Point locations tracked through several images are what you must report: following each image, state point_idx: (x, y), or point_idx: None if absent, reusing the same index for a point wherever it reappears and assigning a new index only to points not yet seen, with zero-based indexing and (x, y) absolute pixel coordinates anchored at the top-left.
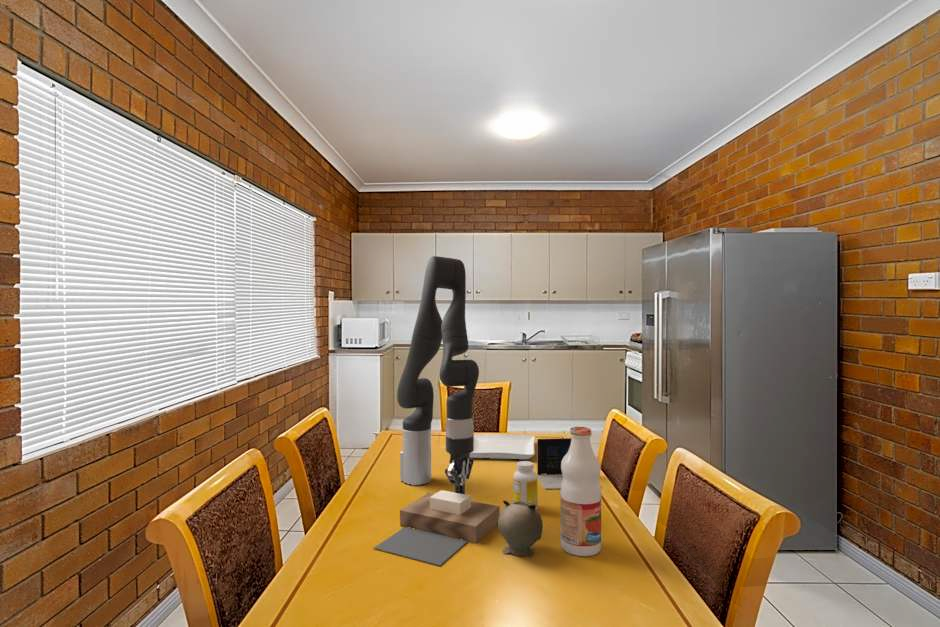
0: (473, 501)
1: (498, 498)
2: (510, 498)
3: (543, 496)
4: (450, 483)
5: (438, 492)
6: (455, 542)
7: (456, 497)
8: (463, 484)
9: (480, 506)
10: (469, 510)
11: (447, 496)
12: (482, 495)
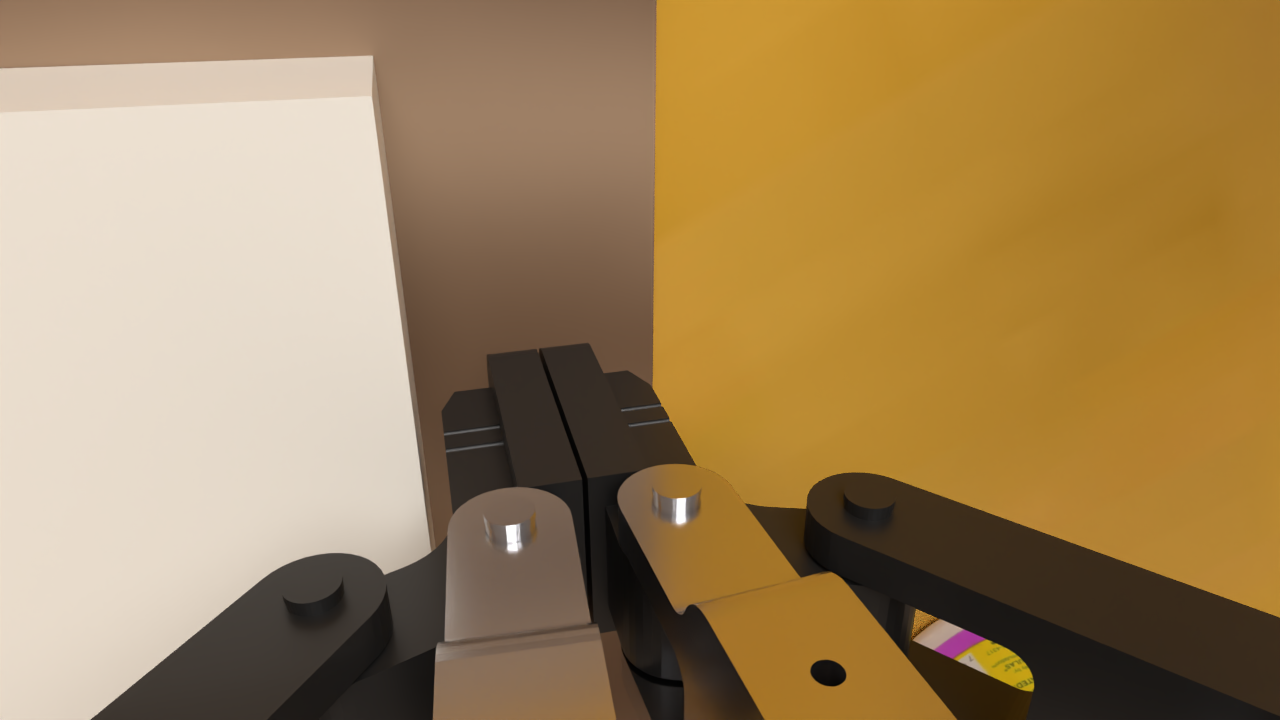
0: None
1: (1166, 357)
2: (1184, 452)
3: None
4: (252, 589)
5: (171, 132)
6: None
7: (192, 627)
8: (615, 617)
9: None
10: None
11: (107, 462)
12: (1228, 153)
